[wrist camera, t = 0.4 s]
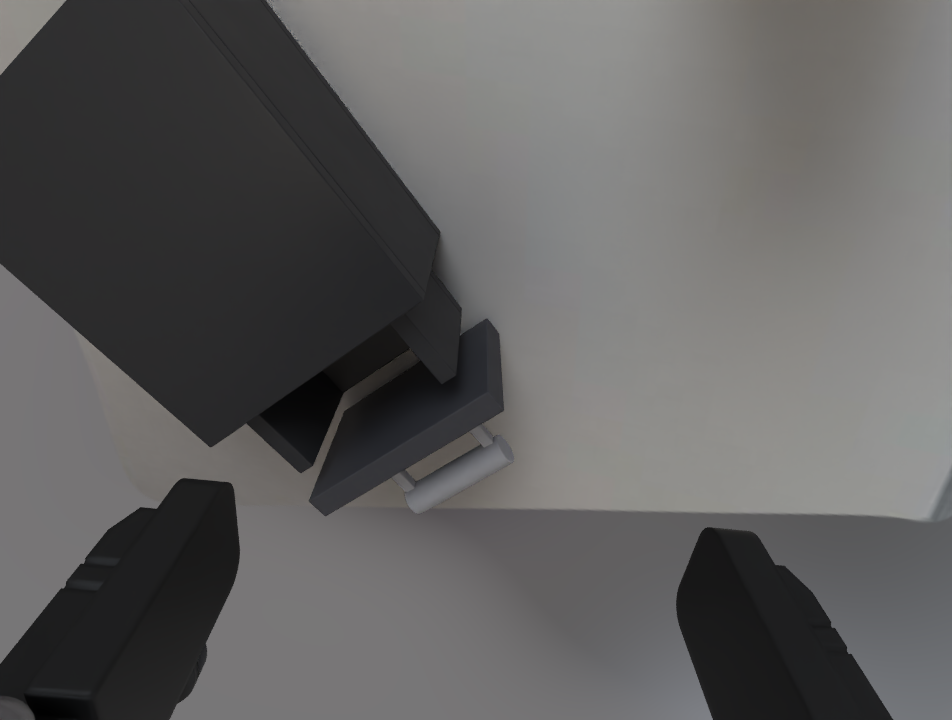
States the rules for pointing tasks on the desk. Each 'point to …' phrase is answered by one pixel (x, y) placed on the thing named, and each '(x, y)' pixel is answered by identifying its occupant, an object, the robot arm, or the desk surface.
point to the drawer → (399, 410)
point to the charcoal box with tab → (201, 203)
